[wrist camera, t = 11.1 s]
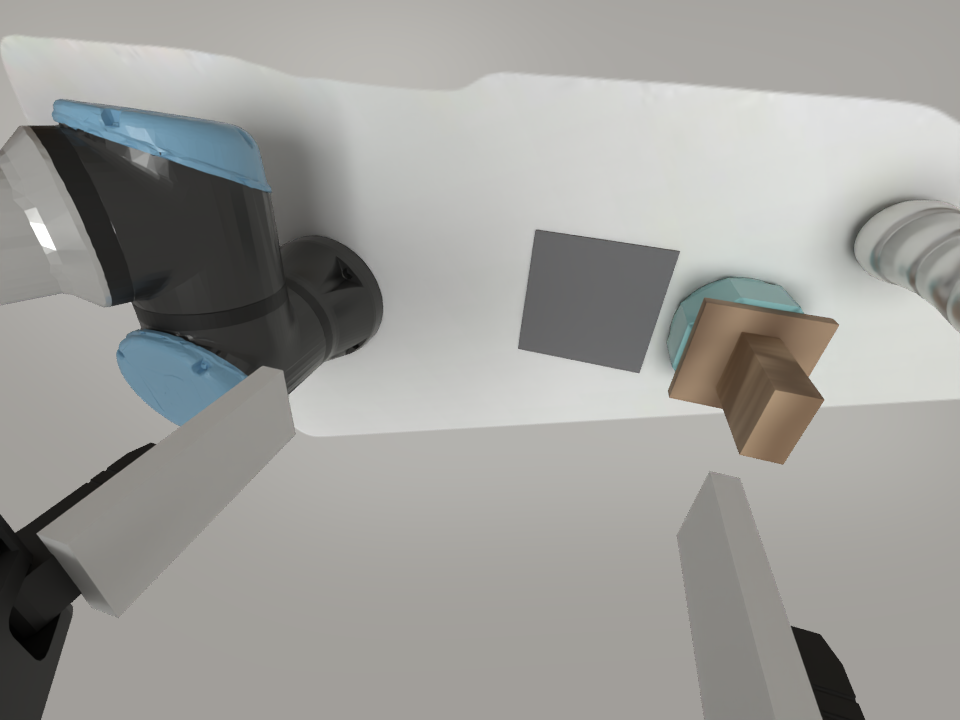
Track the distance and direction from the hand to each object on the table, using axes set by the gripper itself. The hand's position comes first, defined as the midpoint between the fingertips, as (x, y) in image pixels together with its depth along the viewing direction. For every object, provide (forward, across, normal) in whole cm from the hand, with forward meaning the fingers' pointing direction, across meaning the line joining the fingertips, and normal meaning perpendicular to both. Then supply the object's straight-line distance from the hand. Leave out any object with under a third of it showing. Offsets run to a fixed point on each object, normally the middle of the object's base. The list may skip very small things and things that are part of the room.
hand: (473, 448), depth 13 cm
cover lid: (+29, +18, -9) cm, 35 cm away
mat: (+35, +4, -9) cm, 36 cm away
